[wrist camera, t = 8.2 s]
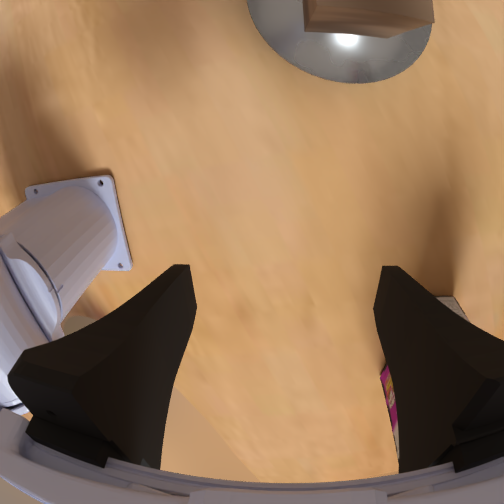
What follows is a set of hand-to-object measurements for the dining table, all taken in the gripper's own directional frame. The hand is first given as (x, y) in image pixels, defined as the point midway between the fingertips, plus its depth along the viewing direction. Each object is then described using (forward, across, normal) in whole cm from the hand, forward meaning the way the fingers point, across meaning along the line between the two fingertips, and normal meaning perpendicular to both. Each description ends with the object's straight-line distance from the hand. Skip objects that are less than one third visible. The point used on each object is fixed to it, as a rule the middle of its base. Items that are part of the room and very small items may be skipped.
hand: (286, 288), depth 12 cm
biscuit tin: (+11, -4, -12) cm, 17 cm away
